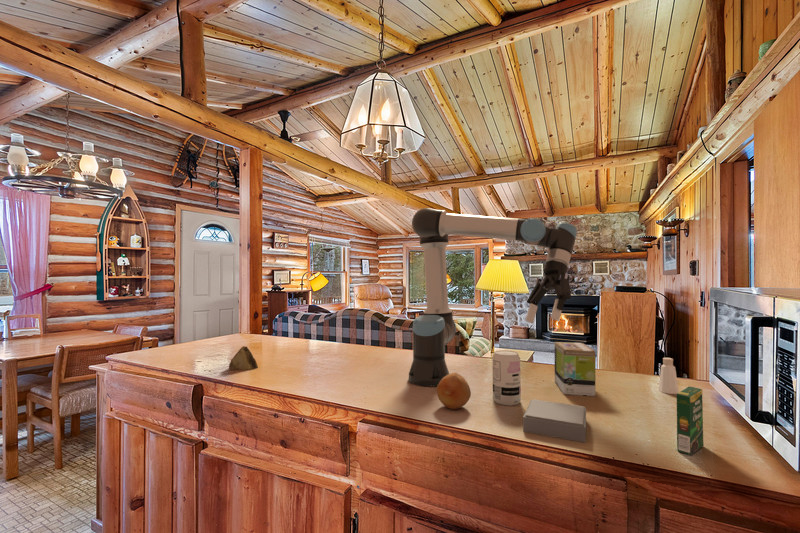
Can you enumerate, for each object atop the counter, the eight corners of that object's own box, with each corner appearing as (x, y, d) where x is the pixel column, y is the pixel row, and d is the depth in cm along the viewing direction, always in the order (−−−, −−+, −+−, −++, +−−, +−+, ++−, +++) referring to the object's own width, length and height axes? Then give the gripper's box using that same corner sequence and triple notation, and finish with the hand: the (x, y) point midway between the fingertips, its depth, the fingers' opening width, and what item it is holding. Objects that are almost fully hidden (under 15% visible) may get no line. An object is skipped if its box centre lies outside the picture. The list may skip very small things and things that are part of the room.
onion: (435, 401, 115) (435, 369, 115) (468, 402, 115) (467, 369, 115) (437, 413, 105) (437, 378, 105) (473, 414, 105) (472, 378, 105)
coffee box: (691, 457, 80) (690, 395, 80) (676, 451, 82) (675, 392, 82) (704, 446, 85) (703, 388, 85) (689, 442, 87) (688, 385, 87)
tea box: (597, 396, 119) (596, 350, 119) (563, 395, 121) (562, 349, 121) (583, 383, 133) (583, 341, 133) (553, 381, 135) (553, 340, 136)
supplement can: (498, 395, 120) (498, 349, 121) (524, 400, 116) (523, 352, 116) (488, 402, 114) (488, 353, 114) (515, 408, 109) (515, 357, 109)
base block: (523, 431, 93) (523, 415, 93) (531, 412, 106) (531, 398, 106) (585, 442, 87) (585, 425, 87) (586, 421, 99) (586, 406, 99)
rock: (220, 364, 154) (235, 364, 148) (231, 346, 159) (245, 345, 153) (241, 375, 160) (255, 376, 155) (250, 357, 165) (264, 357, 160)
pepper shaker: (657, 388, 127) (657, 355, 127) (677, 390, 124) (677, 357, 124) (659, 392, 122) (658, 359, 122) (679, 395, 119) (679, 361, 120)
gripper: (592, 261, 119) (577, 323, 113) (543, 275, 143) (528, 326, 137) (573, 251, 118) (556, 313, 112) (526, 267, 141) (511, 318, 135)
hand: (541, 320), depth 124 cm, fingers open, 13 cm apart
